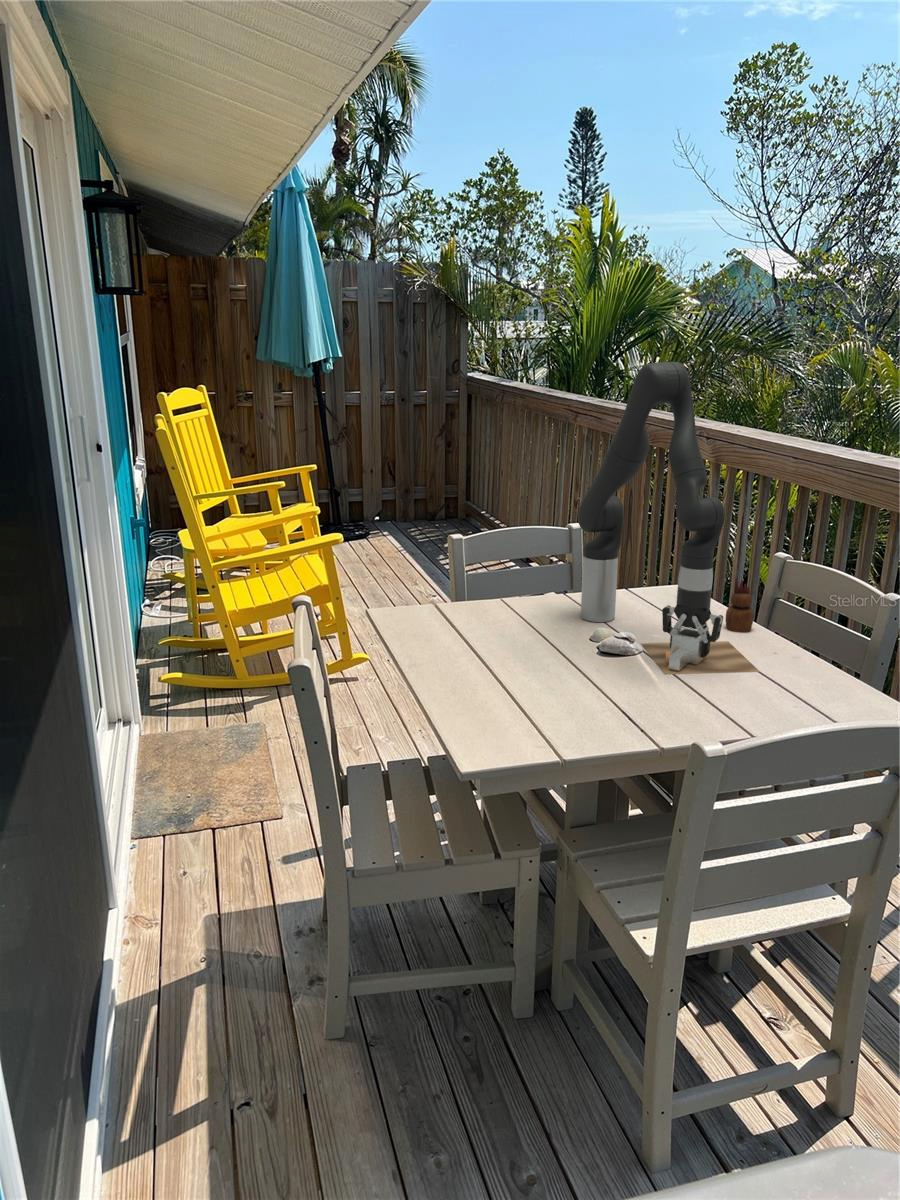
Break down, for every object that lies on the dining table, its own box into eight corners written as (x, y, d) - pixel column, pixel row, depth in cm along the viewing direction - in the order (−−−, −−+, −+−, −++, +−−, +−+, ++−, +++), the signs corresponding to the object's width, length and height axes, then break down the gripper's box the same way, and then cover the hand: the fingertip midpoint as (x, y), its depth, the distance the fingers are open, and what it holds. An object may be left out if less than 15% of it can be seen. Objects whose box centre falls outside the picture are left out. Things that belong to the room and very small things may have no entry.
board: (640, 649, 218) (640, 643, 218) (727, 646, 220) (728, 641, 219) (663, 680, 199) (664, 674, 199) (759, 677, 201) (760, 671, 200)
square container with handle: (680, 650, 212) (682, 626, 210) (706, 656, 208) (709, 632, 206) (660, 666, 202) (662, 641, 200) (687, 672, 199) (689, 647, 197)
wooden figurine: (723, 636, 227) (728, 579, 223) (725, 629, 232) (730, 574, 228) (750, 639, 225) (756, 582, 220) (752, 632, 230) (758, 576, 225)
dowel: (664, 663, 205) (665, 651, 204) (669, 663, 205) (670, 650, 204) (666, 665, 204) (667, 652, 203) (671, 664, 204) (672, 652, 203)
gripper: (731, 586, 201) (724, 655, 206) (671, 576, 209) (665, 642, 214) (720, 594, 195) (713, 665, 200) (658, 583, 203) (653, 651, 208)
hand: (689, 653), depth 207 cm, fingers closed on square container with handle, 6 cm apart
